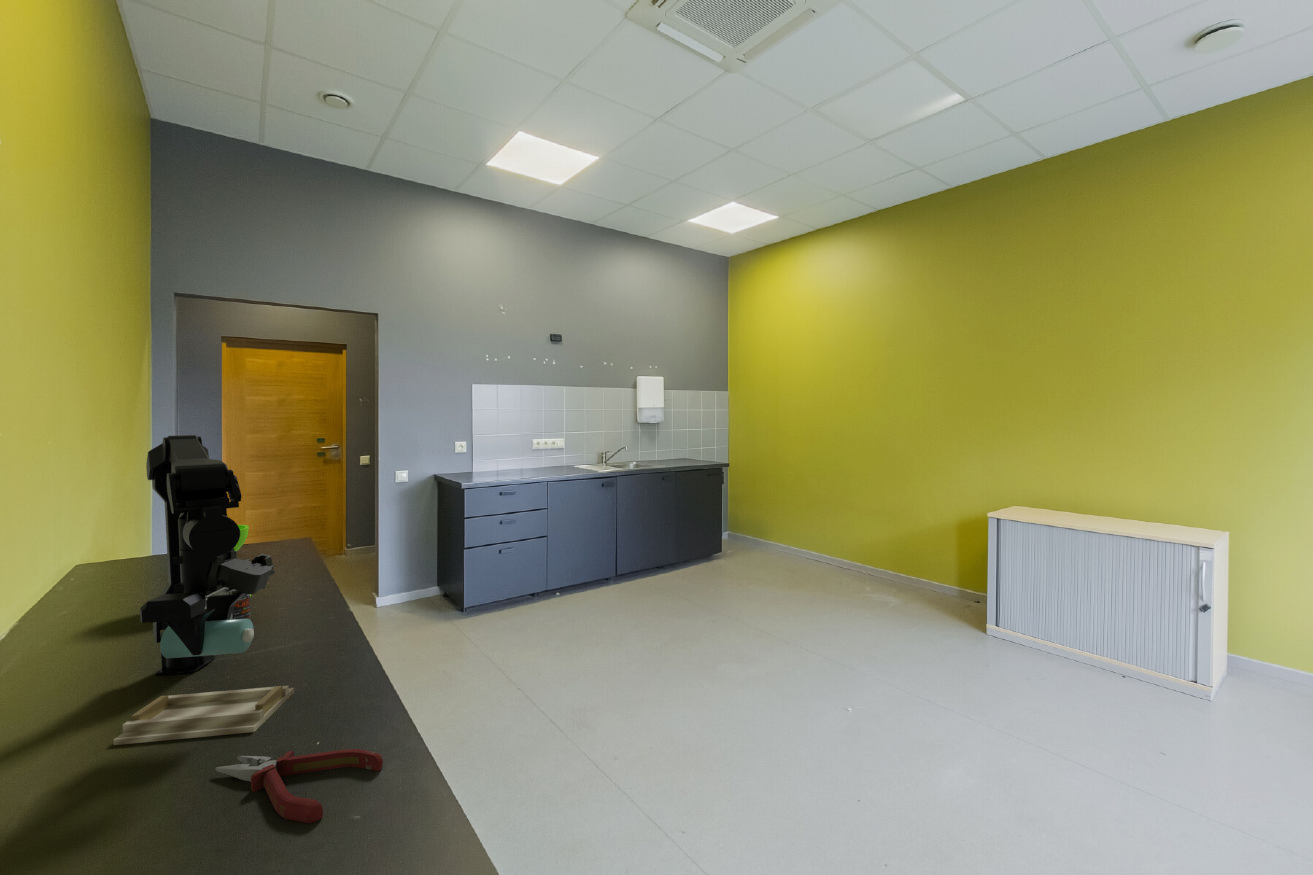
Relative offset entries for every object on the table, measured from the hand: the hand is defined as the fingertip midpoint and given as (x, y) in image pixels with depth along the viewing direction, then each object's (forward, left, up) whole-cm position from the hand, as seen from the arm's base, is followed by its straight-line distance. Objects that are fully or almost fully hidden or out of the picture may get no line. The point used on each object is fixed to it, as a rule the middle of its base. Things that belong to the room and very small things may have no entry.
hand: (208, 647), depth 86 cm
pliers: (+21, -18, -12) cm, 30 cm away
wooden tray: (0, 0, -11) cm, 11 cm away
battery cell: (0, 0, -1) cm, 1 cm away
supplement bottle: (-21, +46, -11) cm, 52 cm away
